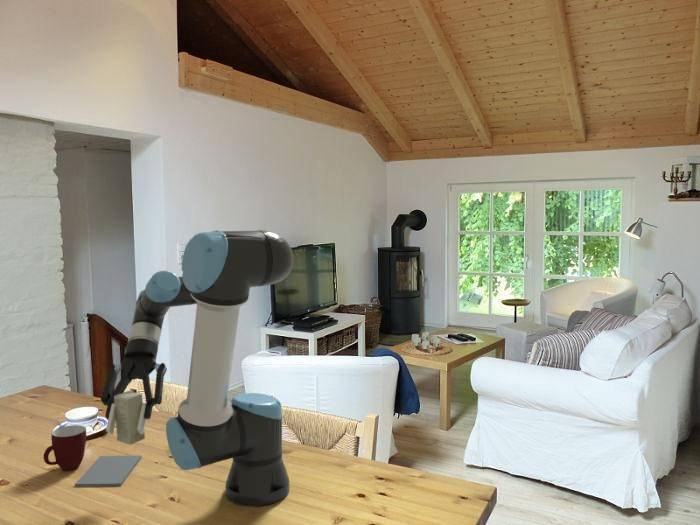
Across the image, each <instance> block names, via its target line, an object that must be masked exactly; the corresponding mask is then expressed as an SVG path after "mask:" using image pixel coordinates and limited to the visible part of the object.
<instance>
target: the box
mask: <svg viewBox="0 0 700 525" xmlns="http://www.w3.org/2000/svg"><path fill="white" fill-rule="evenodd" d="M114 401H115V415H116V422H115V429H116V440H117V442H120V443H123V444H127V445H134V444H136V443H138V442H140V441H142V440H145V439H146V438H145V437H146V436H145V432H144V434H140V433H139V432H138V430H137V428H138V423H139V418H140V413H141V407H142V403H144V402H143V394H142V393H139V392H134V391H131V390H128V391H124V393H121V394H118V395H115V396H114Z"/></svg>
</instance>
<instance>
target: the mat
mask: <svg viewBox="0 0 700 525" xmlns="http://www.w3.org/2000/svg"><path fill="white" fill-rule="evenodd" d="M141 459H142V455H140V454H139V455H99V456H98V458H97V459H96V460H95V461H94V462H93V464H92V465H90V467H88V469H87V470H85V472H84V474H82V476H81V477H80V478H79V479H78V480H77V481H76V482H75V483H74V487H121V486H122V485H123V484H124V483H125V481H126V480H127V479H128V477H129V476H130V474H131V473H132V472H133V470H134V469H135V467H136V466H137V465H138V463H139V462H140V461H141Z"/></svg>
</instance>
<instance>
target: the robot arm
mask: <svg viewBox="0 0 700 525" xmlns="http://www.w3.org/2000/svg"><path fill="white" fill-rule="evenodd" d="M183 250H184V251H183V255H182V259H181V271H182V276H177V274H176V273H174V272H171V271H168V270H159V271H156V272H155V273H154V274H152V276H151V277H150V278H149V280H148V282H147V283H146V285H145V288H144V289H143V290H141V291H140V292H139V294H138V297H137V300H136V302H135V308H134V315H133V318H132V323H131V328H130V332H129V334H128V338H127V339H128V340H127V344H126V348H125V352H124V353H125V354H124V358H123V360H122V361H121V362H120V363H118V364H114V363H110V364H109V365H108V367H109V369H108V370H109V373H108V376H107V379H106V382H105V384H104V388H103V390H102V394H101V397H100V401H101V403H102V405H103V406H107V407H106V411H105V414H104V416H105V418H106V419H105V420H107V424H106V428H105V432H107V434H108V435H109V436H113V435H114V430H115V427H116V415H115V401H114V396H115V395H118V394H121V393H124V392H126V389H127V387H128V386H129V384H130V383H131V382H132V381H134V380H142V384H143V392H144V398H145V402H143V403H142V407H141V413H140V418H139V423H138V428H137V430H138V432H139V433H140V434H144V433H145V427H146V422H147V420H150V419H151V417H152V413H153V408H154V406H156V405H161V404H162V401H163V390H164V389H163V388H164V378H165V375H166V372H167V370H168V369H167V366H166V364H165V363H164V362H161V363H157V362H156V360H157V356H158V349H159V344H160V340H161V336H162V328H163V325H164V324H163V323H164V318H165V317H166V315H167V312H168V311H169V309H170V308H172V307H174V308H175V307H183V306H190V305H191V306H192V305H196V311H195V319H194V320H195V321H194V327H193V328H194V330H193V337H192V338H193V340H192V341H193V342H192V348H191V358H190V367H189V377H188V385H187V395H186V398H185V399H184V400H182V401H181V402H180V404H179V405H178V409H177V410H178V411H177V416H172V417H171V418H169V419H168V420H167V421H166V424H165V435H166V440H167V444H168V448H169V452H170V454H171V456H172V459H173V461H174V462H175V464H176V465H177V467H178V468H179V469H181V470H182V471H190V470H191V471H192V470H195V469H201V468H202V467H206V466H210V465H212V464H216V463H220V462H223V461H227V460H230V459H232V463H231V466H230V468H229V472H228V475H227V478H226V480H225V496H226V498H227V499H228V501H230V502H232V503H233V504H237V505H239V506H245V507H261V506H262V507H263V506H268V505H271V504H274V503H278V502H280V501H281V500H283V499H284V498H285V497H287V495H288V494H289V492H290V478H289V474H288V472H287V469H286V466H285V463H284V460H283V419H284V416H283V410H282V409H283V408H282V403H281V402H280V400H279V399H278V398H276V397H274V396H272V395H269V394H265V393H257V392H256V393H255V392H245V393H244V392H243V393H238V394H235V395H234V396H232V398H231V401H230V402H231V403H230V402H229V401H228V398H229V390H230V384H231V383H230V382H231V375H232V368H233V360H234V352H235V344H236V338H237V337H236V336H237V330H238V322H239V314H240V307H241V306H243V305H245V304H246V303H247V302H248V301H249V296H250V289H251V288H255V287H263V286H264V287H265V286H267V287H268V286H271V285H276V284H278V283H280V282H282V281H283V280H285V279H286V278H287V277H288V276H289V274H290V273H291V271H292V269H293V266H294V253H293V250H292V247H291V245H290V243H288V242H287V240H286V239H285V238H284V237H283V236H281V235H279V234H277V233H275V232H273V231H270V230H265V229H264V230H262V229H261V230H259V229H258V230H231V231H230V230H226V231H225V230H224V231H222V230H212V231H205V232H199V233H196V234H195V235H193V237H191V238H190V239H189V241H188V242H187V244H186V245H185V248H184V249H183ZM122 370H123V372H122V374H121V378H120V380H119V381H118V383H117V385H116V386H115V384H116V382H117V379H118V375H119V374H120V371H122ZM154 370H155V371H156V375H155V376H156V378H155V386H154V394H152V393H153V392H152V389H151V383H150V382H151V381H150V375H151V373H152V372H154ZM153 395H154V396H153Z"/></svg>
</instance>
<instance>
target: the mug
mask: <svg viewBox="0 0 700 525" xmlns="http://www.w3.org/2000/svg"><path fill="white" fill-rule="evenodd" d="M86 444H87V428H86V427H85V426H84V425H80V424H79V425H77V424H73V425H66V426H65V425H64V426H62V427H58V428H56V429H54V430H52V431H51V445H49V446H48V447H47V448H46V449H45V450H44V453H43V461H44V463H45V464H46V465H49V466H56V465H57V466H58V467H59V468H60V469H61V471H63V472H73V471H75V470H77V469H78V468H79V467H80V466H81V463H82V461H83V459H84V457H85V451H86ZM52 451H53V455H54V458H55V460H54V461H50V458H49V455H50V453H51V452H52Z"/></svg>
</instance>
